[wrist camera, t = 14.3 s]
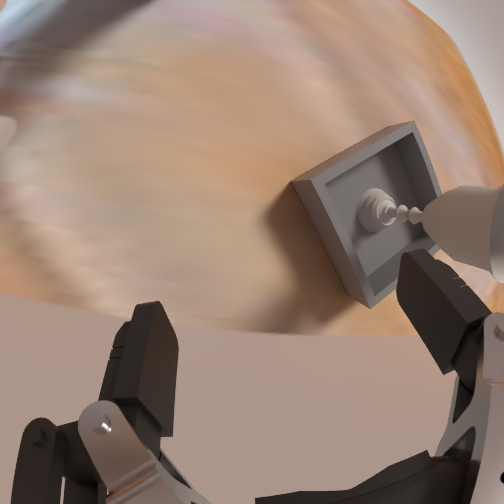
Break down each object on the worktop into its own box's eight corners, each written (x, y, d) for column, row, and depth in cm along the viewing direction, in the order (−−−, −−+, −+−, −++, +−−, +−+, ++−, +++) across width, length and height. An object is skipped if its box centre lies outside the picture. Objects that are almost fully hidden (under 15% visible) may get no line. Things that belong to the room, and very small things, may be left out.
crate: (290, 181, 30) (310, 179, 26) (387, 126, 32) (414, 120, 27) (347, 294, 35) (370, 309, 30) (427, 230, 36) (453, 235, 31)
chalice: (394, 242, 34) (519, 279, 17) (348, 241, 32) (481, 287, 15) (398, 181, 32) (528, 188, 15) (352, 175, 31) (493, 173, 14)
